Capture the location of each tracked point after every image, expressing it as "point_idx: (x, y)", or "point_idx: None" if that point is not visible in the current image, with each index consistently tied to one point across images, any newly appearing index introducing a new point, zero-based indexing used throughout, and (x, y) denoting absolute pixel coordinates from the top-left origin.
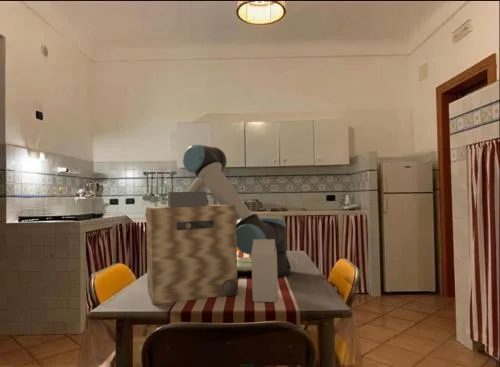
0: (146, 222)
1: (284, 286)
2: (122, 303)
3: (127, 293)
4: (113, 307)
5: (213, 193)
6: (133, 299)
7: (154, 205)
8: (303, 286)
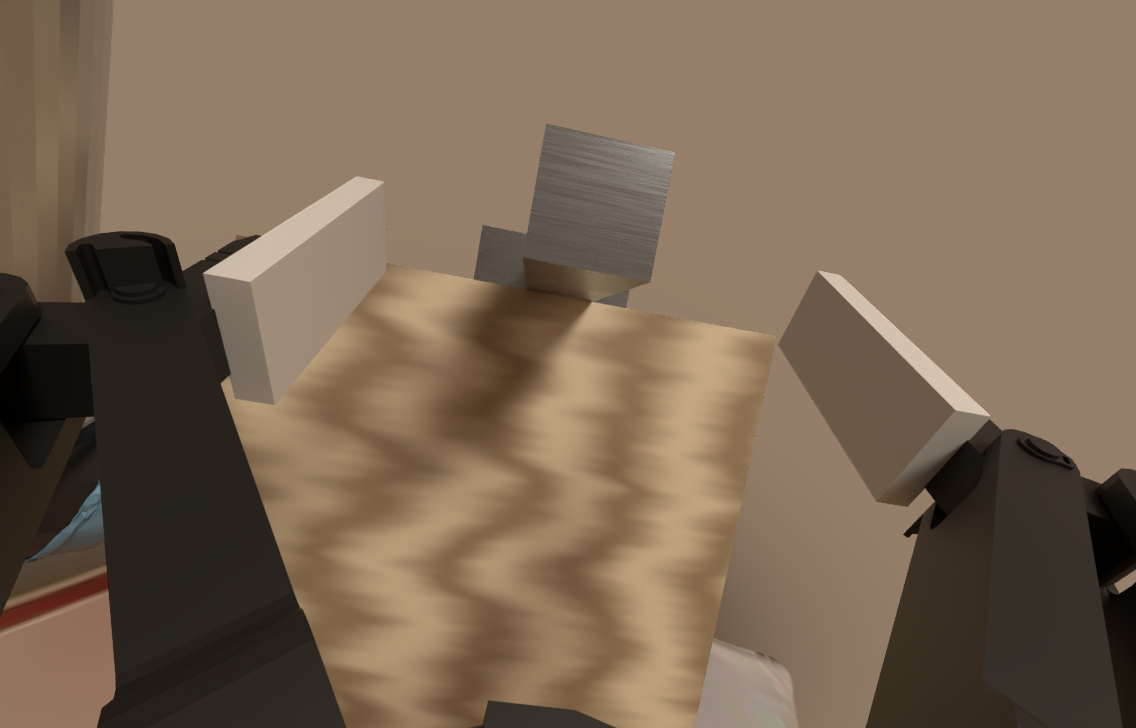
0: (752, 432)
1: (73, 590)
2: (727, 697)
3: None
4: (740, 672)
5: (66, 20)
6: (702, 725)
7: (877, 310)
8: (32, 562)
